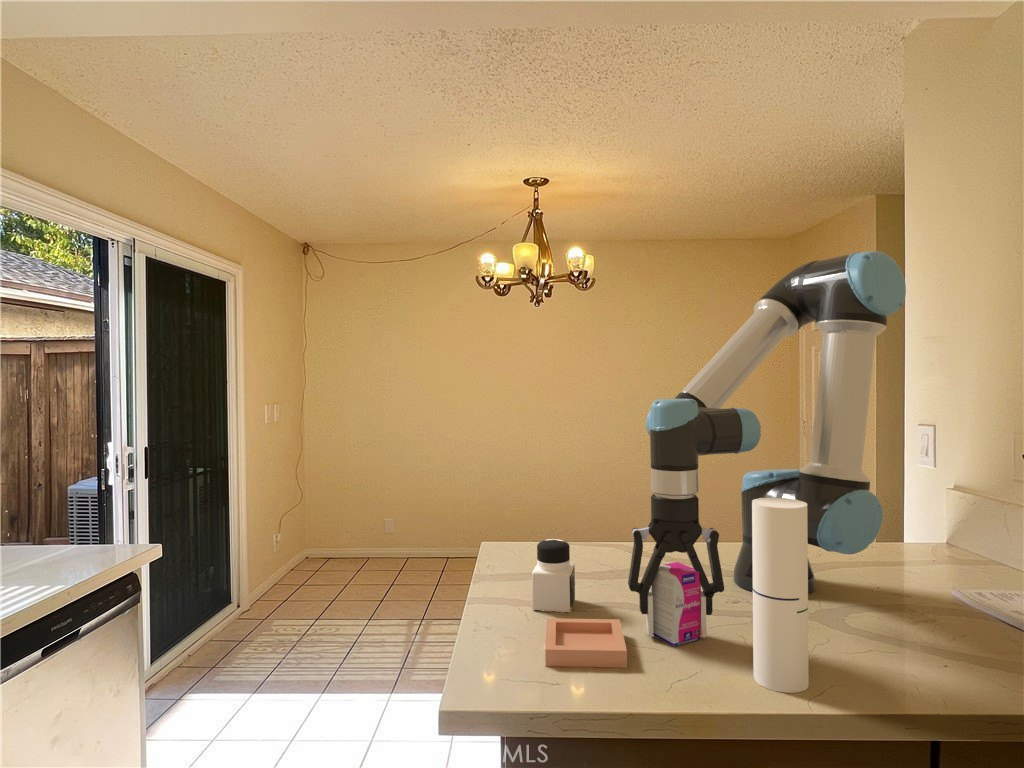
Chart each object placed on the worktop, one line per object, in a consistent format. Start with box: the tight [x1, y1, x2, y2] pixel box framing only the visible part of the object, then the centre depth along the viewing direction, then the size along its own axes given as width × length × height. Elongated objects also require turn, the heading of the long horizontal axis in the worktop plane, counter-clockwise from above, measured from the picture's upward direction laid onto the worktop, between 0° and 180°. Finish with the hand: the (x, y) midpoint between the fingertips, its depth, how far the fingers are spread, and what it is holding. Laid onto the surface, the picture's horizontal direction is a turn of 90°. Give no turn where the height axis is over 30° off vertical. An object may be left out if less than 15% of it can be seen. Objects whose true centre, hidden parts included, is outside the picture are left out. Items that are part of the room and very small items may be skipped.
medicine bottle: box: [531, 538, 576, 613], centre depth 121 cm, size 7×7×12 cm
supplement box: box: [651, 561, 702, 647], centre depth 106 cm, size 6×6×12 cm
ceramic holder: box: [544, 618, 628, 669], centre depth 102 cm, size 12×12×2 cm
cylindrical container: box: [752, 498, 810, 694], centre depth 91 cm, size 7×7×25 cm
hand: (675, 633), depth 106 cm, fingers closed on supplement box, 8 cm apart
